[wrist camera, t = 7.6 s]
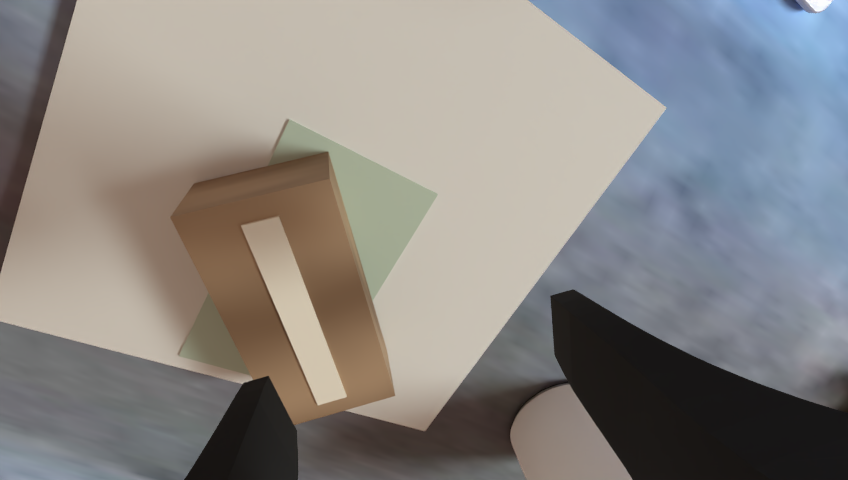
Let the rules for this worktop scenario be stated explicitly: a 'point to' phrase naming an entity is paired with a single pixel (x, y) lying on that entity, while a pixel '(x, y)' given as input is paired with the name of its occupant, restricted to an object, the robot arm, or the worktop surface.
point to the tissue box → (289, 283)
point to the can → (562, 440)
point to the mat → (309, 135)
